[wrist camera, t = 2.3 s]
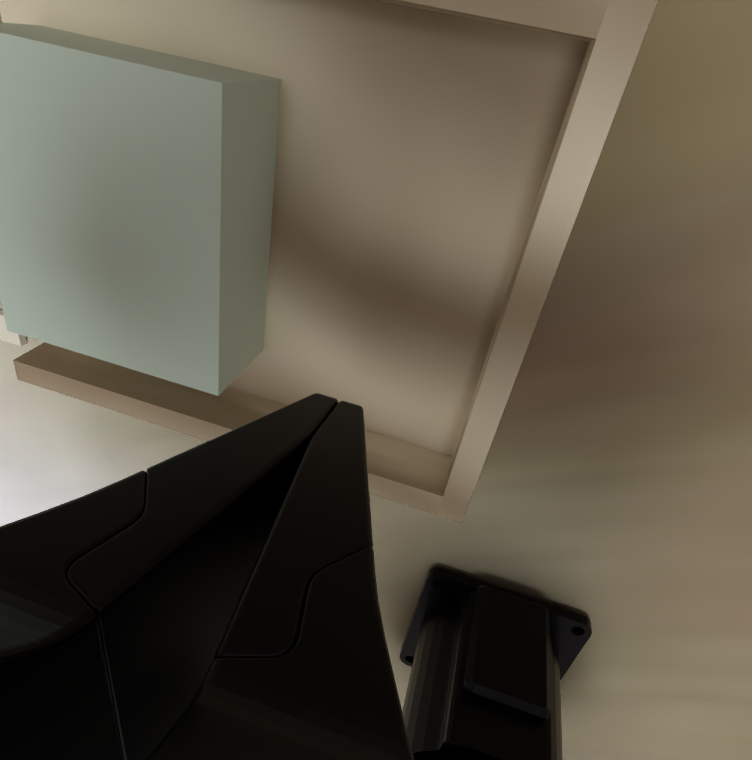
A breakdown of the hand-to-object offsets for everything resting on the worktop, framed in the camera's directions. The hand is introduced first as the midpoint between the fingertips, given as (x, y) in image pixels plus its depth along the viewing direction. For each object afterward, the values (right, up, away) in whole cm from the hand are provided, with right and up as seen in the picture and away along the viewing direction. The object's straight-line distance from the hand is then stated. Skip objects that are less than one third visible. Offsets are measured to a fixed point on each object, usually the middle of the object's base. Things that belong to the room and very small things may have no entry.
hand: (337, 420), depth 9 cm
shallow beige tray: (-3, +5, +7) cm, 9 cm away
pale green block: (-6, +6, +7) cm, 11 cm away
